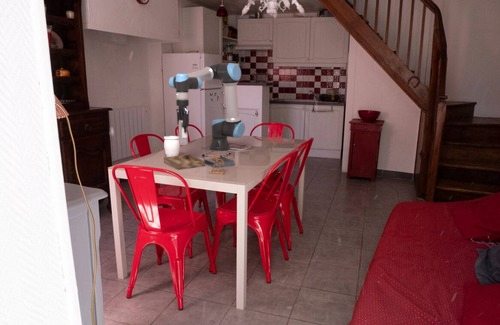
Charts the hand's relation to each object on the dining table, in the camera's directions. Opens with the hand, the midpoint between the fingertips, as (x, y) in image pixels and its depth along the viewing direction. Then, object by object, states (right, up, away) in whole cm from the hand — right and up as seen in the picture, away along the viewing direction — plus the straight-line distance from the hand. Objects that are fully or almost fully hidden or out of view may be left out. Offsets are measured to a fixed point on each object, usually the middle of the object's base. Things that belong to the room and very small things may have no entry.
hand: (183, 136), depth 238 cm
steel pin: (0, -5, +1) cm, 5 cm away
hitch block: (+22, -17, +5) cm, 29 cm away
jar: (-11, -13, +21) cm, 27 cm away
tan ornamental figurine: (+23, -23, -16) cm, 36 cm away
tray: (0, -17, +4) cm, 18 cm away
